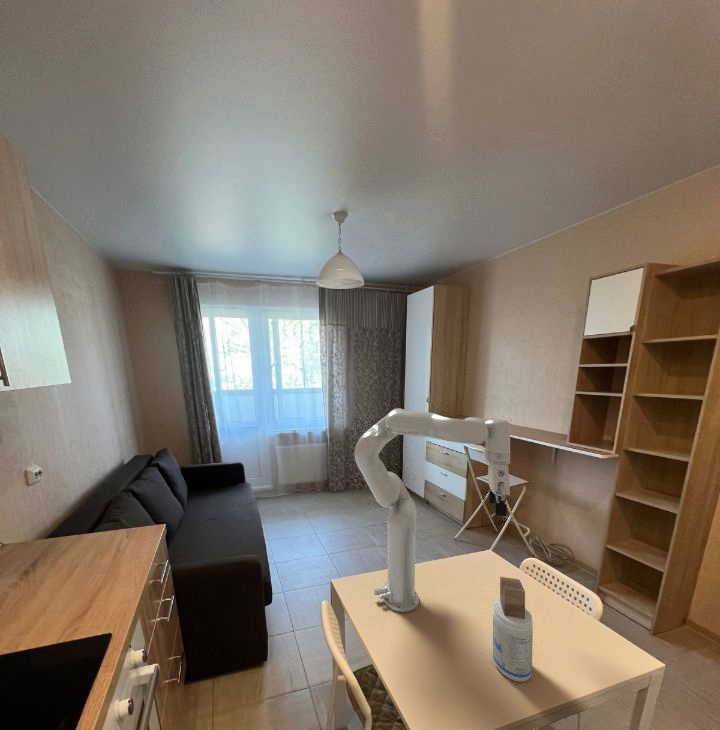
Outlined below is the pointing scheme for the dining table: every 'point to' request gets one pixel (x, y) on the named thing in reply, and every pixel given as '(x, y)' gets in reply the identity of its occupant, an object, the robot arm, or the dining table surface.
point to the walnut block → (512, 597)
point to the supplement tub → (512, 644)
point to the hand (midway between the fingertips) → (497, 509)
